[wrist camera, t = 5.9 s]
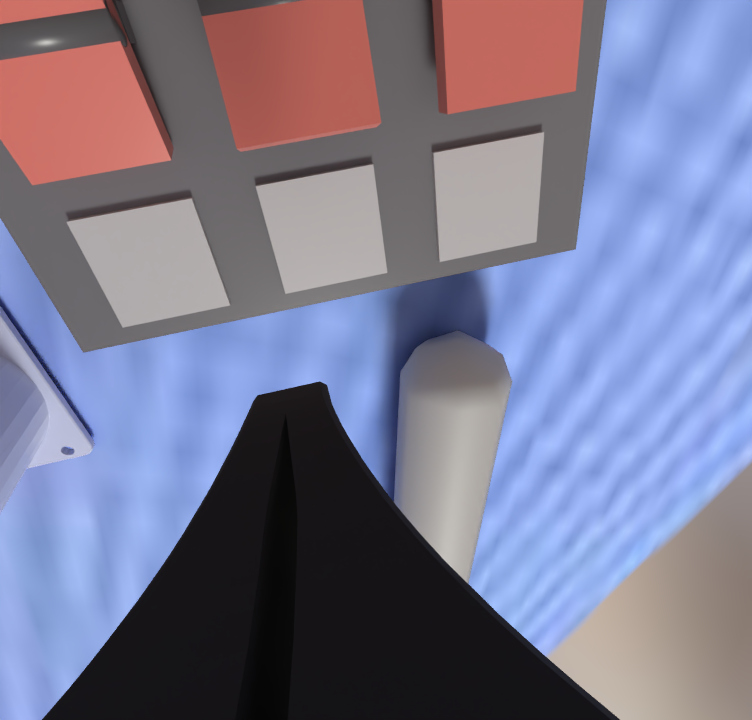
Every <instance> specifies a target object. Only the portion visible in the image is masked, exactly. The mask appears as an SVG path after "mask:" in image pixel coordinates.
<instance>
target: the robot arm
mask: <svg viewBox="0 0 752 720" xmlns="http://www.w3.org/2000/svg"><path fill="white" fill-rule="evenodd" d="M94 444H95V443H94V440H93V439H92V437H91V436H90V435H89V433H88V432H87V430H86V429H85V427H84V426H83V424H82V423H81V422H80V420H79V419H78V417H77V416H76V414H75V413H74V412H73V410H72V409H71V407H70V406H69V404H68V403H67V401H66V400H65V399H64V397H63V396H62V394H61V393H60V391H59V390H58V388H57V387H56V386H55V384H54V383H53V381H52V380H51V378H50V377H49V375H48V374H47V373H46V371H45V370H44V368H43V367H42V365H41V364H40V362H39V361H38V360H37V358H36V357H35V355H34V354H33V352H32V351H31V350H30V348H29V347H28V345H27V344H26V342H25V341H24V339H23V338H22V337H21V335H20V334H19V332H18V331H17V329H16V328H15V326H14V325H13V324H12V322H11V321H10V319H9V318H8V316H7V315H6V313H5V312H4V311H3V309H2V308H1V306H0V514H1V512H2V510H3V509H4V507H5V505H6V503H7V502H8V500H9V498H10V497H11V495H12V493H13V491H14V490H15V488H16V486H17V485H18V483H19V481H20V480H21V478H22V476H23V474H24V473H25V471H26V469H27V468H31V467H36V466H40V465H44V464H49V463H53V462H58V461H62V460H66V459H71V458H75V457H80V456H84V455H87V454H89V453H90V452H91V451H92V449H93V447H94ZM67 446H68V447H71V448H73V449H69V448H67ZM42 720H619V719H618V718H617V717H616V716H615V715H614V714H612V713H611V712H610V711H609V710H608V709H607V708H605V707H604V706H603V705H602V704H601V703H599V702H598V701H597V700H596V699H595V698H593V697H592V696H591V695H590V694H589V693H587V692H586V691H585V690H584V689H583V688H581V687H580V686H579V685H578V684H577V683H575V682H574V681H573V680H572V679H571V678H570V677H569V676H567V675H566V674H565V673H564V672H563V671H562V670H560V669H559V668H558V667H557V666H556V665H555V664H554V663H552V662H551V661H550V660H549V659H548V658H547V657H545V656H544V655H543V654H542V653H541V652H540V651H539V650H537V649H536V648H535V647H534V646H533V645H532V644H531V643H530V642H529V641H528V640H527V639H525V638H524V637H523V636H522V635H521V634H520V633H519V632H518V631H517V630H516V629H514V628H513V627H512V626H511V625H510V624H509V623H508V622H507V621H506V620H505V619H504V618H502V617H501V616H500V615H499V614H498V613H497V612H496V611H495V610H494V609H493V608H492V607H491V606H490V605H489V604H488V603H487V602H486V601H485V600H484V599H483V598H482V597H481V596H480V595H479V594H478V593H477V592H476V591H475V590H474V589H473V588H472V587H471V586H470V585H469V584H468V583H467V582H466V581H465V580H464V579H463V578H462V577H461V576H460V575H459V574H458V573H457V572H456V571H455V570H454V569H453V568H452V567H451V566H450V565H449V564H448V563H447V562H446V561H445V560H444V559H443V558H442V557H441V556H440V555H439V554H438V553H437V552H436V550H435V549H434V548H433V547H432V546H431V545H430V544H429V543H428V542H427V541H426V540H425V538H424V537H423V536H422V535H421V534H420V533H419V532H418V531H417V529H416V528H415V527H414V526H413V525H412V524H411V522H410V521H409V520H408V519H407V518H406V516H405V515H404V514H403V513H402V512H401V510H400V509H399V508H398V507H397V506H396V504H395V503H394V502H393V501H392V499H391V498H390V497H389V495H388V494H387V493H386V492H385V490H384V489H383V487H382V486H381V485H380V483H379V482H378V481H377V479H376V478H375V477H374V475H373V474H372V472H371V471H370V470H369V468H368V467H367V465H366V464H365V462H364V461H363V459H362V458H361V456H360V455H359V453H358V451H357V450H356V448H355V447H354V445H353V443H352V442H351V440H350V439H349V437H348V435H347V434H346V432H345V430H344V428H343V426H342V425H341V423H340V421H339V418H338V416H337V414H336V412H335V410H334V408H333V406H332V403H331V399H330V395H329V391H328V387H327V385H326V384H324V383H322V382H316V383H311V384H307V385H302V386H298V387H293V388H289V389H284V390H280V391H275V392H271V393H266V394H262V395H258V396H257V397H256V398H255V400H254V401H253V403H252V406H251V408H250V410H249V412H248V414H247V417H246V419H245V421H244V423H243V425H242V427H241V430H240V432H239V434H238V436H237V438H236V440H235V442H234V444H233V446H232V448H231V450H230V452H229V454H228V456H227V458H226V460H225V461H224V463H223V465H222V467H221V469H220V471H219V473H218V475H217V477H216V478H215V480H214V482H213V484H212V486H211V488H210V490H209V491H208V493H207V495H206V496H205V498H204V500H203V501H202V503H201V505H200V507H199V508H198V510H197V512H196V513H195V515H194V517H193V518H192V520H191V522H190V523H189V525H188V527H187V528H186V530H185V532H184V533H183V535H182V536H181V538H180V540H179V541H178V543H177V544H176V546H175V547H174V549H173V550H172V552H171V553H170V555H169V556H168V558H167V559H166V561H165V562H164V564H163V565H162V567H161V568H160V570H159V571H158V573H157V574H156V576H155V577H154V578H153V580H152V581H151V583H150V584H149V585H148V587H147V588H146V590H145V591H144V593H143V594H142V595H141V597H140V598H139V600H138V601H137V602H136V604H135V605H134V606H133V608H132V609H131V610H130V612H129V613H128V614H127V615H126V617H125V618H124V619H123V621H122V622H121V623H120V625H119V626H118V627H117V629H116V630H115V631H114V633H113V634H112V635H111V636H110V638H109V639H108V640H107V642H106V643H105V644H104V646H103V647H102V648H101V649H100V651H99V652H98V653H97V655H96V656H95V657H94V658H93V660H92V661H91V662H90V663H89V665H88V666H87V667H86V668H85V670H84V671H83V672H82V673H81V675H80V676H79V677H78V678H77V679H76V681H75V682H74V683H73V684H72V686H71V687H70V688H69V689H68V690H67V691H66V693H65V694H64V695H63V696H62V697H61V698H60V699H59V701H58V702H57V703H56V704H55V705H54V706H53V708H52V709H51V710H50V711H49V712H48V713H47V715H46V716H45V717H44V718H43V719H42Z"/></svg>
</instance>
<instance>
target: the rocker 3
mask: <svg viewBox="0 0 752 720" xmlns="http://www.w3.org/2000/svg"><path fill="white" fill-rule="evenodd" d="M583 1H584V0H432V5H433V22H434V40H435V57H436V75H437V92H438V109H439V112H440V113H444V114H452V113H458V112H463V111H469V110H475V109H480V108H486V107H491V106H497V105H502V104H508V103H513V102H519V101H524V100H530V99H535V98H541V97H546V96H552V95H557V94H563V93H568V92H574V91H576V82H577V70H578V59H579V47H580V36H581V24H582V13H583Z"/></svg>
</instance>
